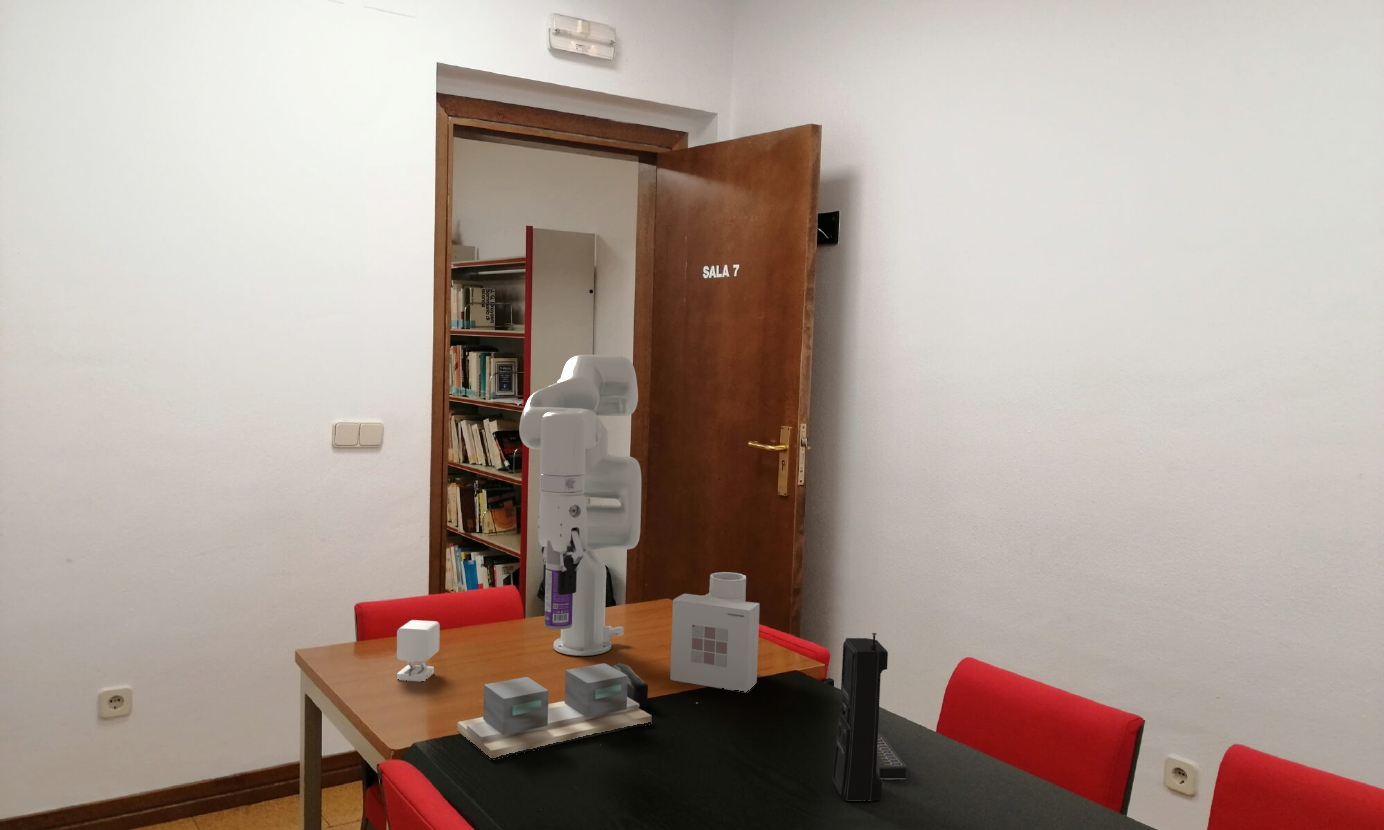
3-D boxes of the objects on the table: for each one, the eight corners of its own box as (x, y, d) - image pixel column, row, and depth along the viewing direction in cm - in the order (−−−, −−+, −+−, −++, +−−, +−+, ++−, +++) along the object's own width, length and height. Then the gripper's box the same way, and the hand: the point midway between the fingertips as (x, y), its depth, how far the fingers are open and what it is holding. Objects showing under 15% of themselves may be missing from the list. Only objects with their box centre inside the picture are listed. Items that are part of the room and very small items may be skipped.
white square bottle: (669, 680, 195) (672, 581, 194) (703, 655, 212) (706, 564, 211) (746, 693, 189) (750, 591, 188) (775, 666, 206) (778, 572, 205)
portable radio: (829, 779, 151) (836, 620, 149) (867, 779, 151) (874, 620, 150) (841, 802, 143) (848, 634, 142) (881, 802, 144) (889, 635, 142)
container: (576, 623, 169) (578, 538, 168) (564, 630, 164) (566, 542, 164) (552, 620, 170) (554, 535, 170) (539, 627, 166) (541, 540, 165)
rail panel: (610, 699, 183) (612, 655, 182) (651, 723, 171) (652, 677, 171) (457, 730, 165) (458, 682, 165) (491, 759, 154) (492, 708, 154)
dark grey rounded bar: (651, 682, 179) (619, 657, 192) (636, 684, 178) (605, 658, 191) (650, 708, 180) (618, 681, 193) (635, 711, 178) (604, 683, 192)
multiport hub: (879, 782, 151) (880, 768, 151) (854, 745, 166) (854, 732, 166) (907, 782, 152) (908, 767, 152) (879, 745, 166) (880, 732, 166)
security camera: (439, 670, 196) (439, 621, 196) (426, 681, 189) (427, 630, 189) (408, 668, 197) (409, 619, 196) (394, 679, 190) (395, 629, 189)
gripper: (606, 489, 161) (603, 598, 162) (558, 477, 175) (556, 577, 176) (565, 492, 157) (563, 603, 158) (520, 479, 171) (517, 582, 172)
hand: (559, 588), depth 167 cm, fingers closed on container, 4 cm apart
